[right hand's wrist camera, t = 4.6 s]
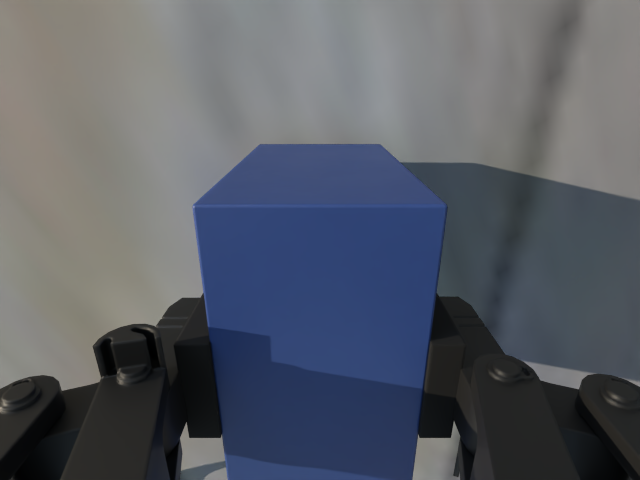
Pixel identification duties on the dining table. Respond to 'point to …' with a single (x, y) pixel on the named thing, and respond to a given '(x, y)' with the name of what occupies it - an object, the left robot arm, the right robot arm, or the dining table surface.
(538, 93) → the dining table surface
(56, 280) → the dining table surface
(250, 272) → the block
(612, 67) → the dining table surface
